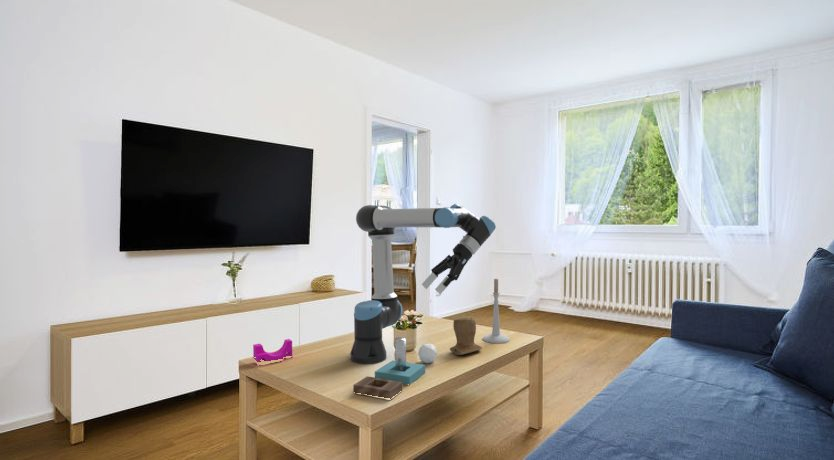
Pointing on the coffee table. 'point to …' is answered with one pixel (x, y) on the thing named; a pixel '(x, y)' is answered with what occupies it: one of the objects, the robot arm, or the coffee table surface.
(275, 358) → the magenta curved bracket
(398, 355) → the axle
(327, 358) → the coffee table surface
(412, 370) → the seat block
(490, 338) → the candlestick
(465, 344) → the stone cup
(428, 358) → the geometric ball
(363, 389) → the brown rectangular frame
